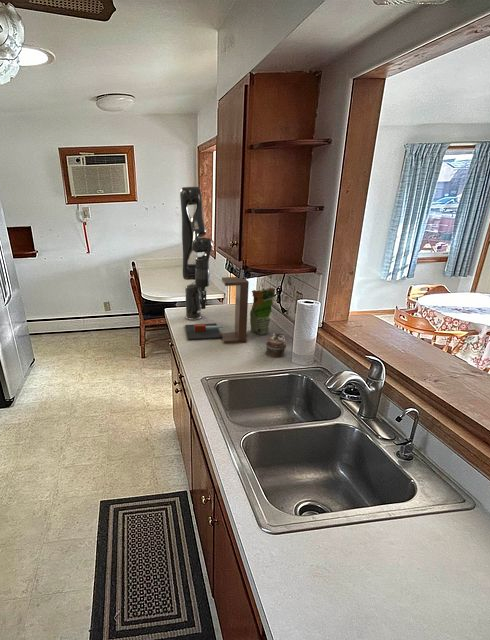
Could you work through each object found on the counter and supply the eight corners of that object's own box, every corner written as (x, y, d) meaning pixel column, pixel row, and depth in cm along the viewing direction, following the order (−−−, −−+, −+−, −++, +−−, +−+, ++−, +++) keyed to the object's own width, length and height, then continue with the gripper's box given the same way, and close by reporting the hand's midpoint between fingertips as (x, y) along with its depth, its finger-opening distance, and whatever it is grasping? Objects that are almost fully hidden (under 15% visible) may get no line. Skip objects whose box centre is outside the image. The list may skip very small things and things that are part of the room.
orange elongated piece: (222, 322, 220) (222, 328, 221) (194, 324, 219) (194, 329, 221) (223, 325, 216) (223, 330, 218) (194, 326, 216) (194, 332, 218)
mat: (185, 326, 230) (185, 324, 229) (215, 324, 230) (215, 323, 230) (188, 340, 210) (188, 338, 209) (221, 338, 210) (221, 336, 210)
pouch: (272, 329, 220) (276, 285, 209) (268, 336, 210) (271, 291, 199) (253, 327, 224) (255, 284, 213) (247, 334, 214) (249, 289, 204)
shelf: (220, 335, 215) (221, 277, 201) (241, 334, 215) (243, 276, 201) (224, 343, 204) (225, 283, 190) (246, 342, 204) (248, 281, 190)
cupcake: (266, 349, 195) (267, 330, 191) (286, 350, 192) (287, 331, 188) (264, 356, 187) (265, 337, 183) (284, 358, 184) (286, 339, 180)
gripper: (211, 280, 200) (211, 310, 207) (207, 273, 213) (207, 302, 220) (196, 280, 200) (196, 310, 207) (194, 274, 213) (194, 302, 220)
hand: (202, 306), depth 214 cm, fingers open, 8 cm apart
